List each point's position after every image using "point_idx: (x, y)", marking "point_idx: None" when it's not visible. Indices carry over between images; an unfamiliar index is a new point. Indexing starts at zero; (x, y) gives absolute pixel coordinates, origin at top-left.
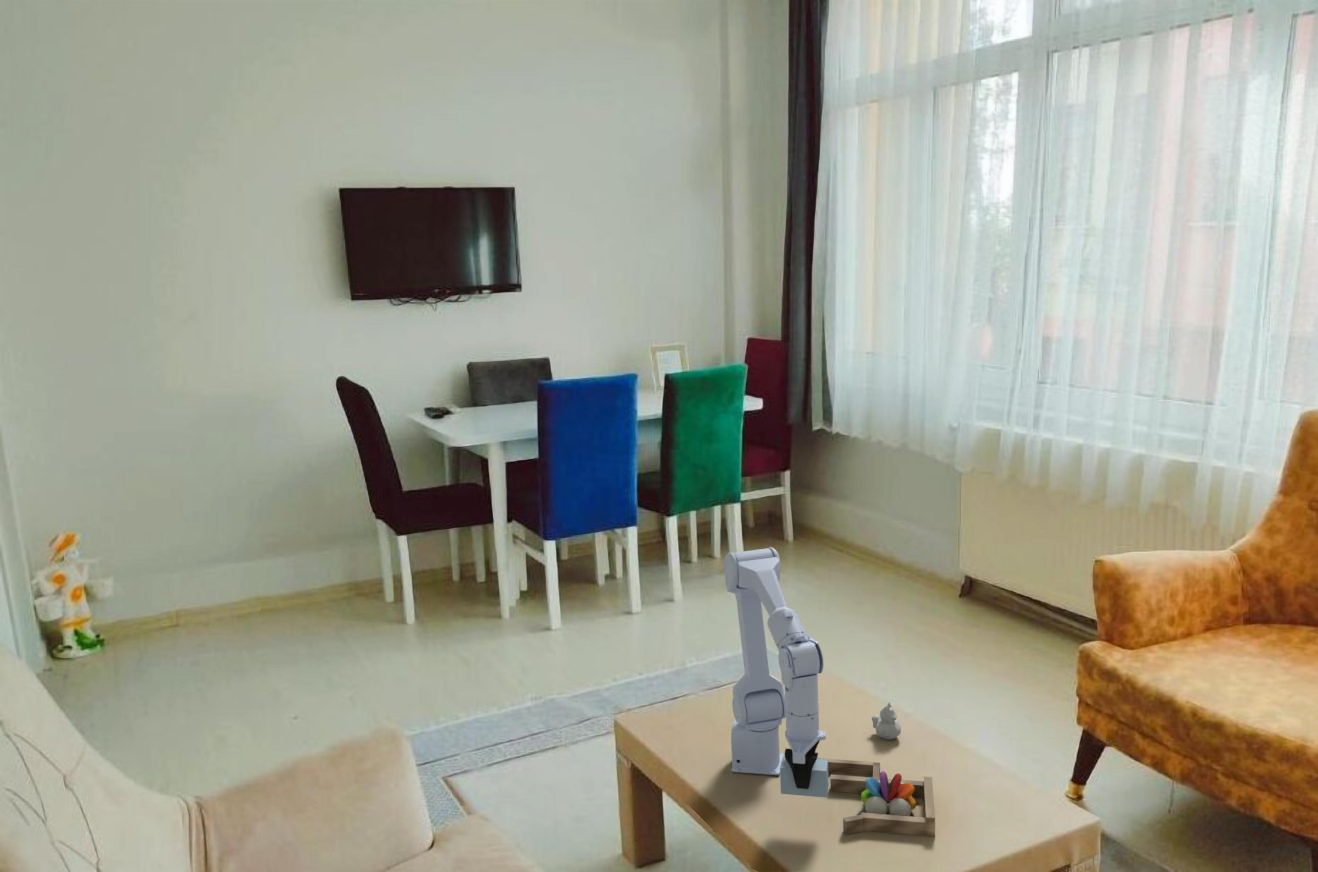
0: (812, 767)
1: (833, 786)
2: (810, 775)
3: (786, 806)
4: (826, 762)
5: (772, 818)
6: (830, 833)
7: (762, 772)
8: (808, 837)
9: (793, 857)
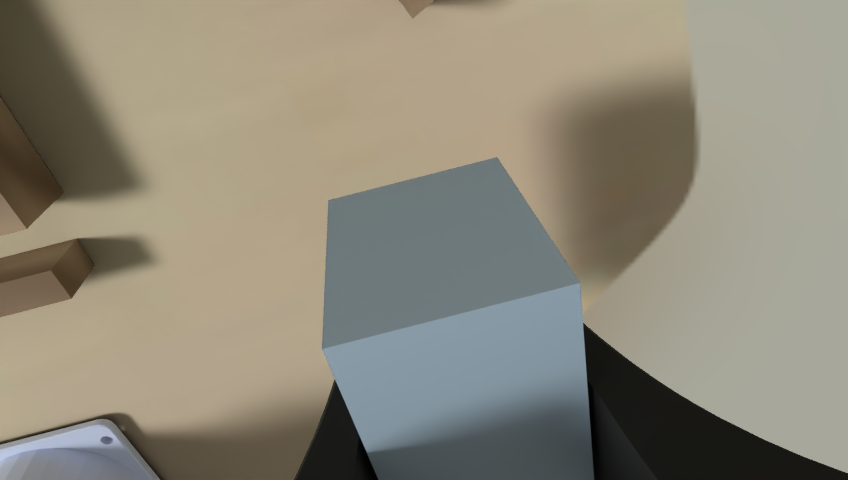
0: (737, 427)
1: (40, 190)
2: (639, 368)
3: (316, 312)
4: (393, 341)
5: None
6: (448, 66)
7: (143, 469)
8: (514, 153)
9: (672, 160)
